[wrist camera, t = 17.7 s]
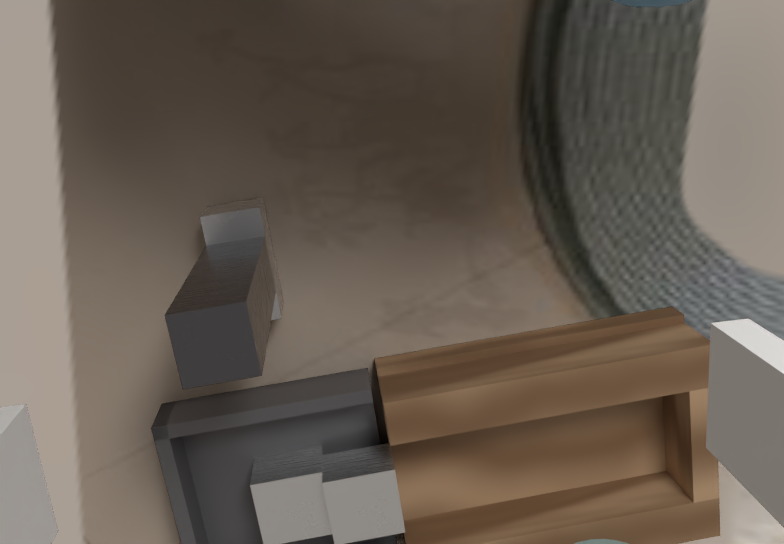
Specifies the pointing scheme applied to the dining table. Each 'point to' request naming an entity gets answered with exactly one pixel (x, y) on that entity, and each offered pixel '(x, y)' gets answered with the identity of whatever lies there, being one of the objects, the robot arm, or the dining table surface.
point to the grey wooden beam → (227, 298)
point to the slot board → (556, 435)
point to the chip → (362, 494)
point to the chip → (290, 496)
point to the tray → (254, 448)
